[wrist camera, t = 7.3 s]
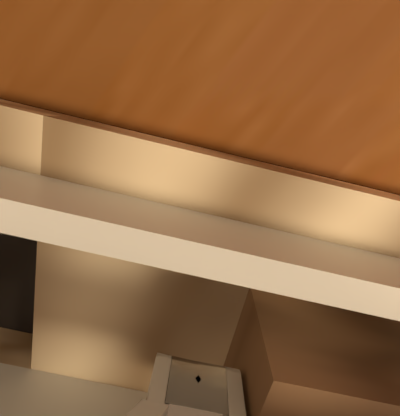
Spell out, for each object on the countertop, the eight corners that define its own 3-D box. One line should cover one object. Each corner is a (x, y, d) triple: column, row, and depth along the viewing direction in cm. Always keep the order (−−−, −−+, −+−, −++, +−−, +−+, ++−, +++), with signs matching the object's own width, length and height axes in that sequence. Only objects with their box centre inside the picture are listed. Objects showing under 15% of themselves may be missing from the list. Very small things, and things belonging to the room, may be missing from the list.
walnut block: (445, 327, 11) (575, 442, 7) (390, 415, 12) (471, 547, 8) (250, 285, 10) (273, 380, 7) (218, 380, 12) (222, 501, 8)
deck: (693, 265, 12) (786, 293, 10) (506, 469, 16) (546, 516, 14) (-110, 72, 10) (-181, 61, 8) (-78, 351, 15) (-120, 386, 13)
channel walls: (448, 269, 10) (522, 316, 8) (342, 447, 13) (371, 520, 11) (-78, 147, 9) (-178, 157, 7) (-59, 367, 12) (-123, 427, 10)
